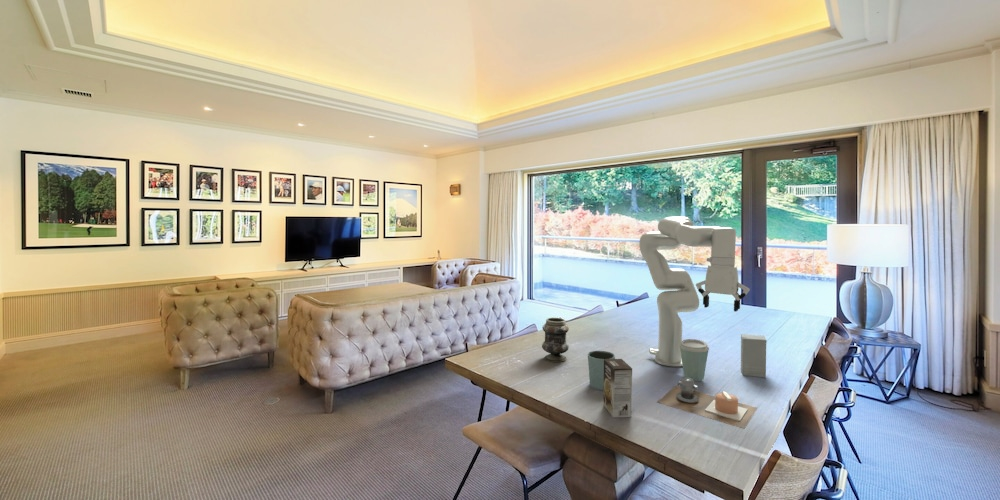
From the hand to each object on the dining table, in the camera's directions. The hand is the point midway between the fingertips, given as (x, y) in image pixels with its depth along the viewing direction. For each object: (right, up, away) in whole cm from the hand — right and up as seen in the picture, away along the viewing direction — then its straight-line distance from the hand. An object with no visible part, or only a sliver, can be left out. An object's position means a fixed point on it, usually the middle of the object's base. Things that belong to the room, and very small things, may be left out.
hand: (720, 308), depth 146 cm
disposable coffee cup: (-5, -30, +12) cm, 32 cm away
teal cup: (-42, -30, +7) cm, 52 cm away
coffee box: (-42, -32, -14) cm, 54 cm away
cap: (-7, -30, -16) cm, 35 cm away
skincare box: (+22, -29, +17) cm, 41 cm away
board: (-11, -31, -12) cm, 35 cm away
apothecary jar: (-55, -28, +37) cm, 72 cm away
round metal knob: (-16, -30, -8) cm, 35 cm away
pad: (-7, -31, -16) cm, 35 cm away
